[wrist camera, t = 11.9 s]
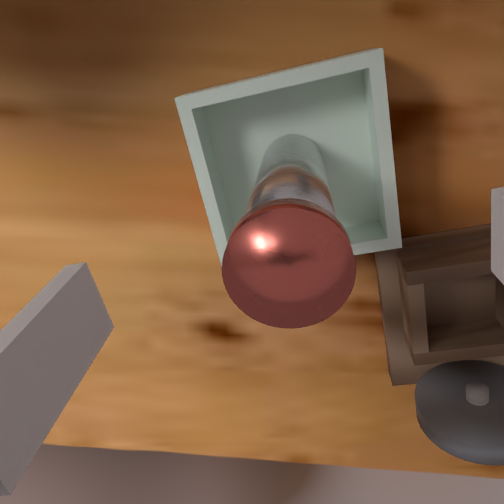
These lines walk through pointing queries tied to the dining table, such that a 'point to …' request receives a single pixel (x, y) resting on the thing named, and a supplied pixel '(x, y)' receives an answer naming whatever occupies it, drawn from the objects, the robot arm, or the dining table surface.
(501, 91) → the dining table surface
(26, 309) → the robot arm
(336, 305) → the pin
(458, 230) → the block
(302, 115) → the tray
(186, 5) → the dining table surface
